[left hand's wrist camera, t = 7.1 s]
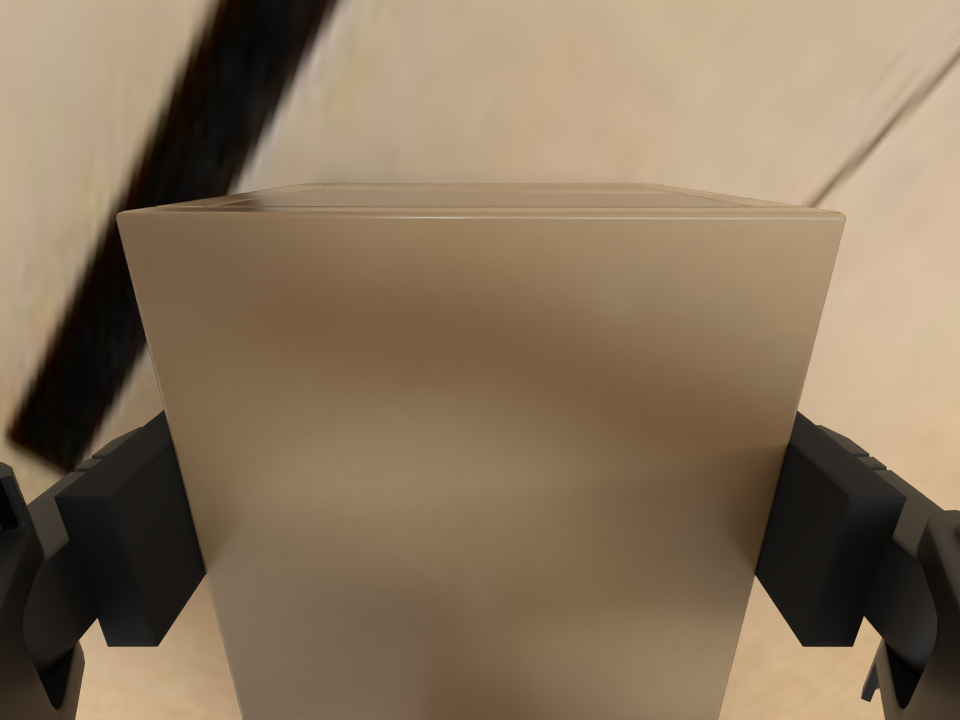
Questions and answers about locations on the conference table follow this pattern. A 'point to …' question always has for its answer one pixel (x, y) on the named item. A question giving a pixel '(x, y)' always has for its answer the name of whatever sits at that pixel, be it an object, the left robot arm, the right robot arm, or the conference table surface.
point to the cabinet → (480, 436)
